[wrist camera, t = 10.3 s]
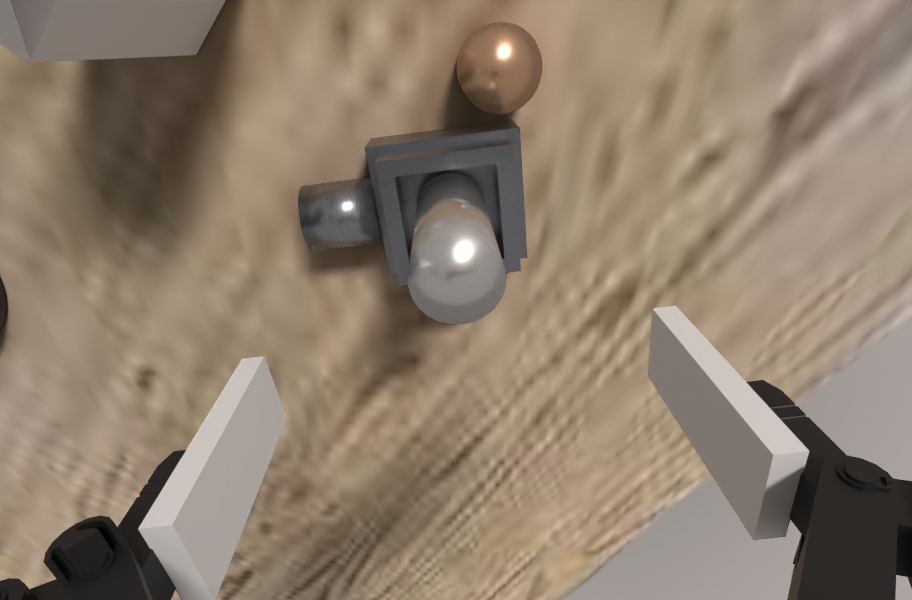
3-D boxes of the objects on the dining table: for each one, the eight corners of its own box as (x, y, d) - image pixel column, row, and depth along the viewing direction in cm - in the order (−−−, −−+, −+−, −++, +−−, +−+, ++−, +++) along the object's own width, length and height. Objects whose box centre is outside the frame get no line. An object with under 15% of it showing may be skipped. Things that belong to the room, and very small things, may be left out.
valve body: (339, 295, 41) (322, 337, 35) (301, 147, 35) (274, 168, 29) (522, 273, 40) (536, 311, 34) (512, 120, 35) (527, 135, 29)
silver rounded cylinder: (422, 242, 35) (416, 329, 24) (411, 177, 33) (399, 241, 22) (487, 234, 35) (509, 318, 24) (481, 168, 33) (502, 228, 22)
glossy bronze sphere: (461, 111, 35) (463, 119, 31) (451, 30, 32) (453, 28, 29) (532, 101, 34) (543, 108, 31) (528, 19, 32) (540, 16, 29)
